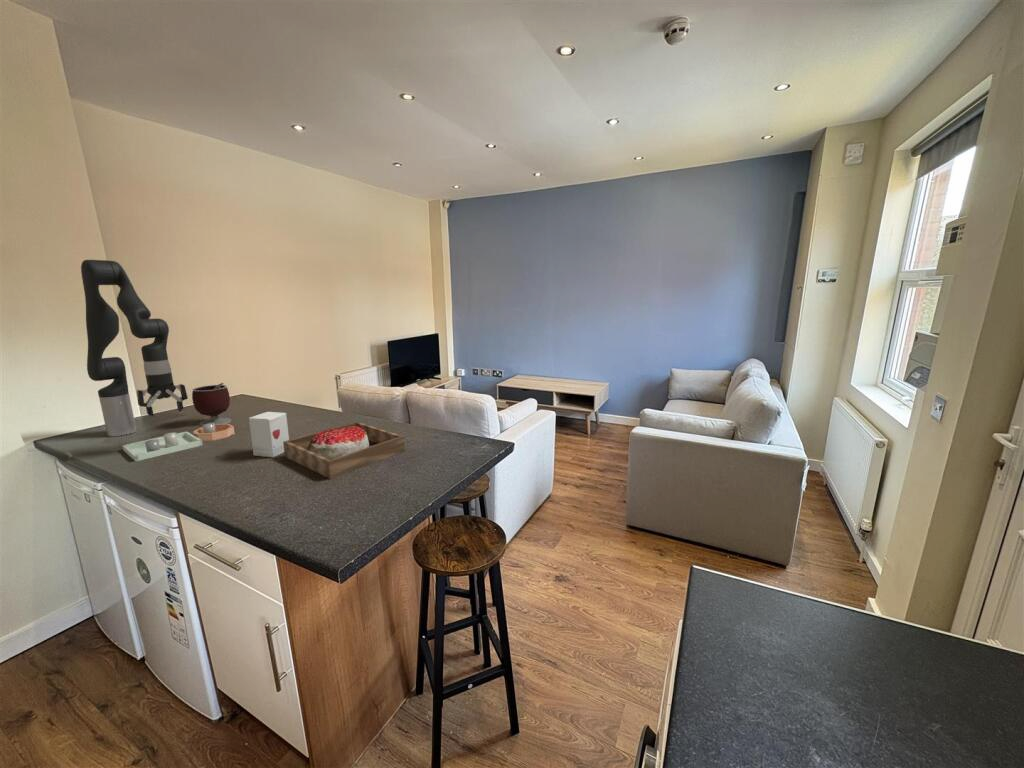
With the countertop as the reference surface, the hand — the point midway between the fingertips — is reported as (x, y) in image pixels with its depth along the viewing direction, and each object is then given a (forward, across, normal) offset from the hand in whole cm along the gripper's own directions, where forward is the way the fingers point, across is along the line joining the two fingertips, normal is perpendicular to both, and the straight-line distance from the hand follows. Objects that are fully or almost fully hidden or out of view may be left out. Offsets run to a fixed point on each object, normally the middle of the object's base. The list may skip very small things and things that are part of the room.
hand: (166, 413), depth 154 cm
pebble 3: (+13, -13, -3) cm, 19 cm away
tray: (+14, +2, -1) cm, 15 cm away
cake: (+15, -35, +57) cm, 69 cm away
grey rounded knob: (+13, +6, +5) cm, 16 cm away
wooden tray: (+15, -37, +60) cm, 72 cm away
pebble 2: (+13, 0, 0) cm, 13 cm away
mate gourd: (+14, -22, -24) cm, 36 cm away
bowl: (+14, -14, -1) cm, 20 cm away
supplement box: (+15, -22, +36) cm, 44 cm away
